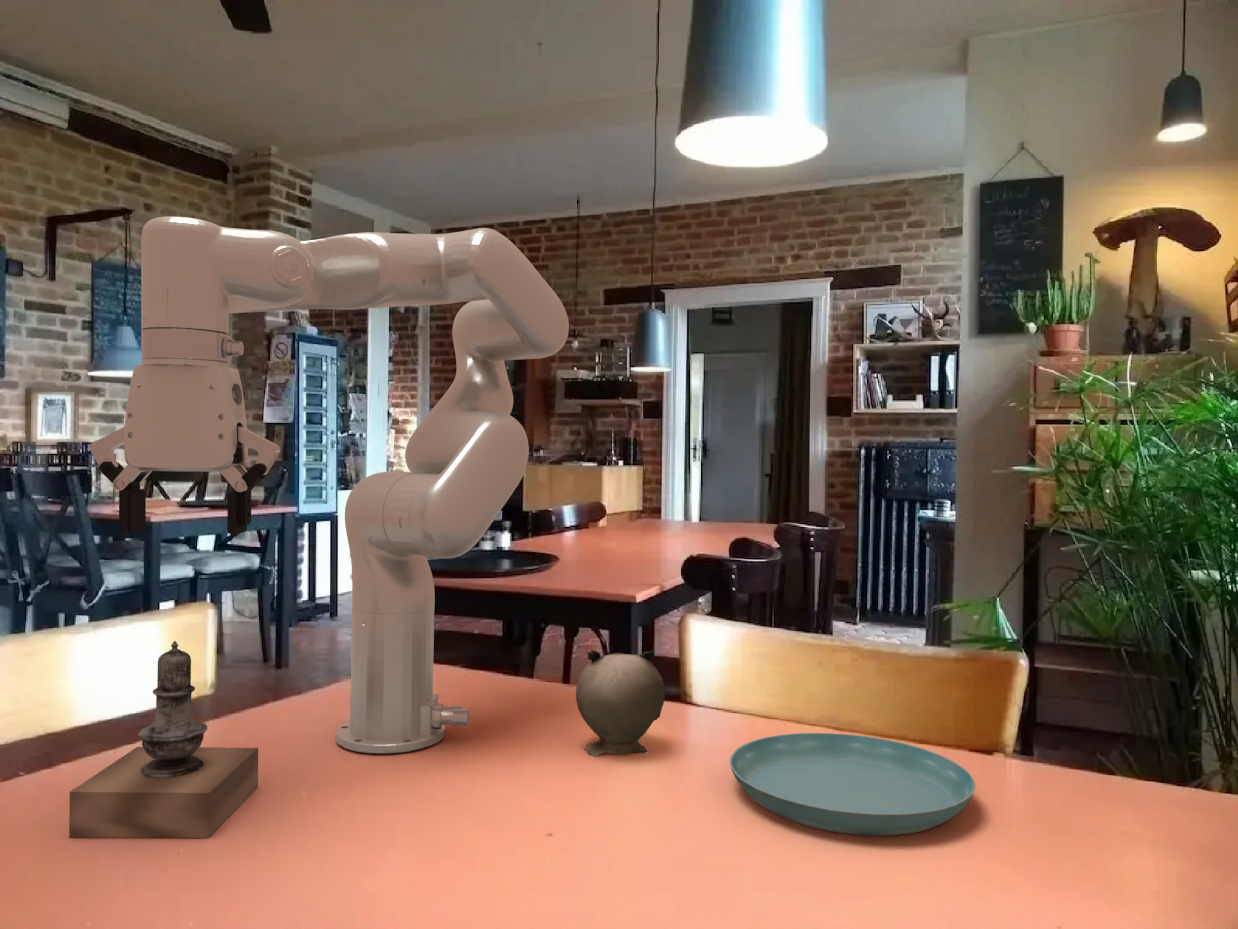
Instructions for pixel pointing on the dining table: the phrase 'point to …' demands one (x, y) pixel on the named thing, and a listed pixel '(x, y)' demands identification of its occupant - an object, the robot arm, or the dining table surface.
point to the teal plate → (852, 782)
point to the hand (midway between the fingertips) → (185, 532)
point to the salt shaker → (173, 720)
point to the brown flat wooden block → (163, 797)
